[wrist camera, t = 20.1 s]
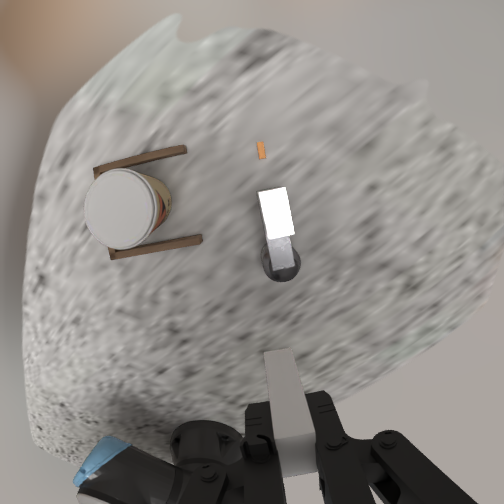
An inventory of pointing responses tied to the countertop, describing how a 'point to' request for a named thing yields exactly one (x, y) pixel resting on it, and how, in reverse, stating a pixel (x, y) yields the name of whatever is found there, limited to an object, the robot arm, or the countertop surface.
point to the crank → (278, 232)
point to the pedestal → (266, 257)
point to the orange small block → (261, 150)
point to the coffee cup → (125, 207)
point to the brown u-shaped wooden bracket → (158, 245)
